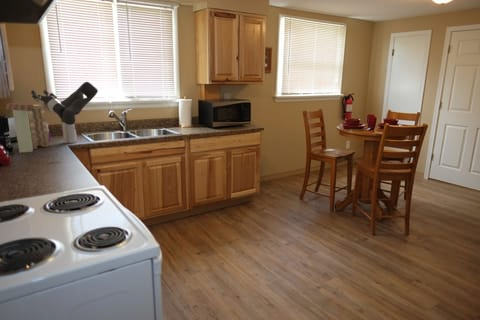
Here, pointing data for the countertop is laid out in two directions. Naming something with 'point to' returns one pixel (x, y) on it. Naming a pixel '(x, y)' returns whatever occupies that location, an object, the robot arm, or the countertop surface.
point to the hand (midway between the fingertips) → (38, 91)
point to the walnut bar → (20, 107)
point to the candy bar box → (48, 131)
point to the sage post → (23, 131)
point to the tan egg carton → (38, 126)
